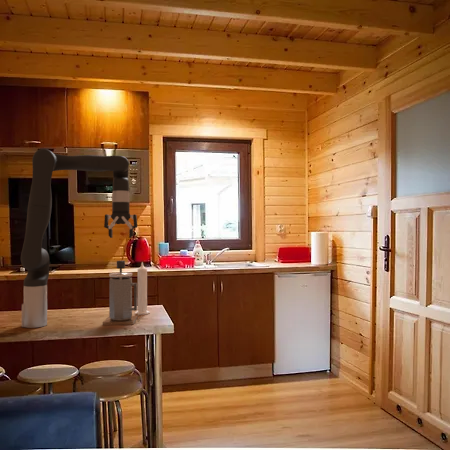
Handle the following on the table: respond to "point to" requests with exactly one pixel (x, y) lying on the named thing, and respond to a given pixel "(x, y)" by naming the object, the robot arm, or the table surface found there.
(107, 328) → the table surface
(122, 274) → the plunger
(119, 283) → the press
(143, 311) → the candle
